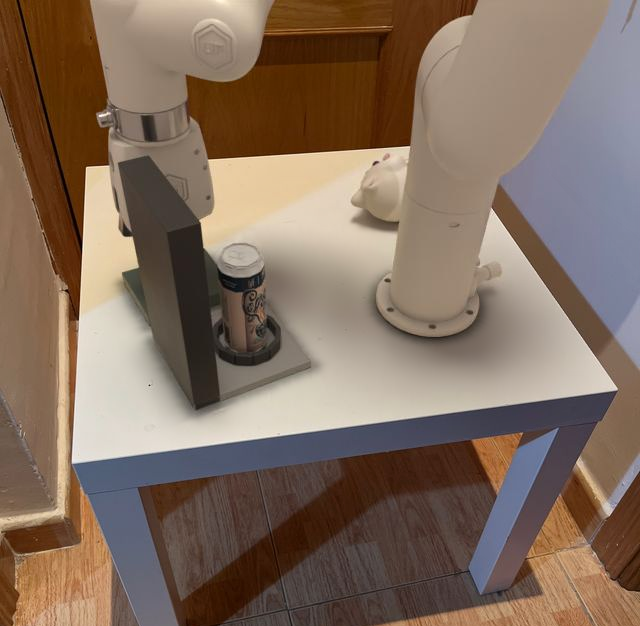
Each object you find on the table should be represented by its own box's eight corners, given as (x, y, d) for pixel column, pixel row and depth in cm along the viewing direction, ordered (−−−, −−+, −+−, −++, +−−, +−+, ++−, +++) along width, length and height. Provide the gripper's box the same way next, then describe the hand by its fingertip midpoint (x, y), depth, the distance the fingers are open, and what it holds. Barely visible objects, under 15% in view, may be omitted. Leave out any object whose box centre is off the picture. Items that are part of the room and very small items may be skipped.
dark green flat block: (205, 259, 89) (203, 235, 86) (235, 299, 84) (233, 276, 81) (123, 283, 85) (118, 260, 83) (150, 327, 80) (145, 303, 78)
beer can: (261, 360, 76) (257, 272, 67) (219, 353, 76) (210, 265, 67) (271, 331, 79) (269, 243, 70) (231, 325, 80) (224, 236, 70)
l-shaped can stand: (263, 304, 84) (256, 129, 67) (311, 367, 77) (317, 189, 60) (153, 341, 79) (117, 162, 62) (194, 411, 72) (166, 232, 55)
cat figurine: (456, 134, 93) (363, 145, 87) (477, 188, 92) (384, 202, 86) (421, 173, 102) (334, 185, 96) (440, 222, 101) (353, 238, 95)
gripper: (88, 148, 63) (123, 303, 77) (236, 116, 68) (244, 267, 82) (64, 113, 67) (101, 266, 81) (205, 85, 72) (218, 233, 86)
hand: (173, 266), depth 82 cm, fingers closed
